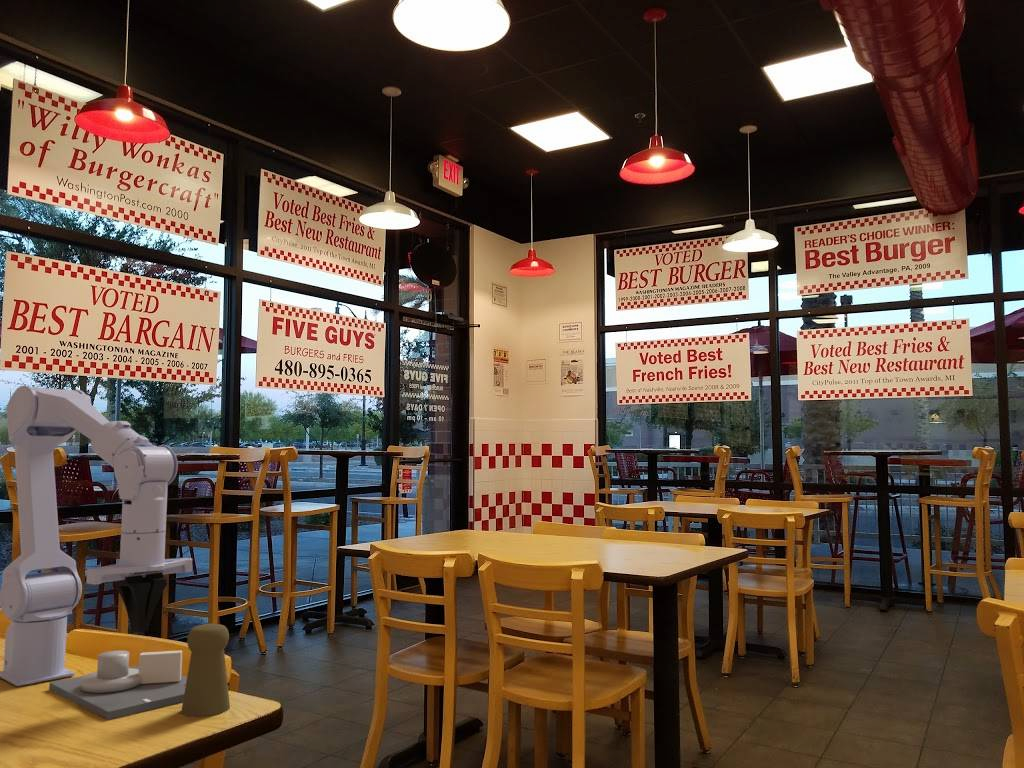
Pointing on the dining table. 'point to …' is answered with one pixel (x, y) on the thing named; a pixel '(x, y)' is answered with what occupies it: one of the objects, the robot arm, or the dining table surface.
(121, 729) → the dining table surface
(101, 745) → the dining table surface
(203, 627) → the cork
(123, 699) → the dial board
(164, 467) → the robot arm
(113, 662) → the dial
